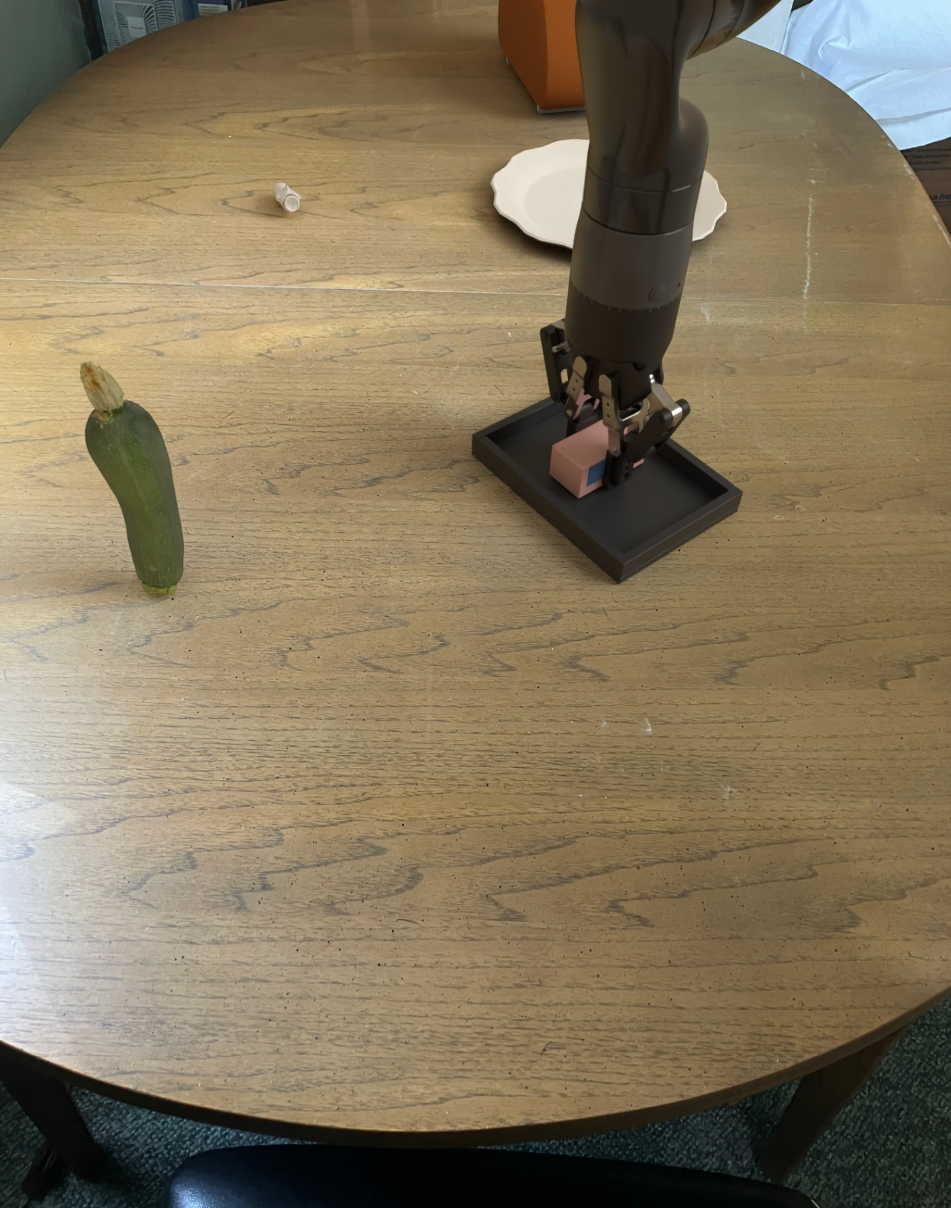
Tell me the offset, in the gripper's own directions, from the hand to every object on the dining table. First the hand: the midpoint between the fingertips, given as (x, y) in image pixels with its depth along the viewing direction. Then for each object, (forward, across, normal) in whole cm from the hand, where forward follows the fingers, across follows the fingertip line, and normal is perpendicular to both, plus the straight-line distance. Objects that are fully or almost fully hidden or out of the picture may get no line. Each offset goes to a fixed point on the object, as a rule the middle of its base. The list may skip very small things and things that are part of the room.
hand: (596, 467), depth 75 cm
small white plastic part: (+1, +51, -2) cm, 51 cm away
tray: (+1, -1, 0) cm, 1 cm away
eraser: (0, 0, 0) cm, 0 cm away
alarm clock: (+1, +59, -46) cm, 75 cm away
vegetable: (+1, +9, +32) cm, 33 cm away
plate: (+1, +31, -30) cm, 43 cm away
